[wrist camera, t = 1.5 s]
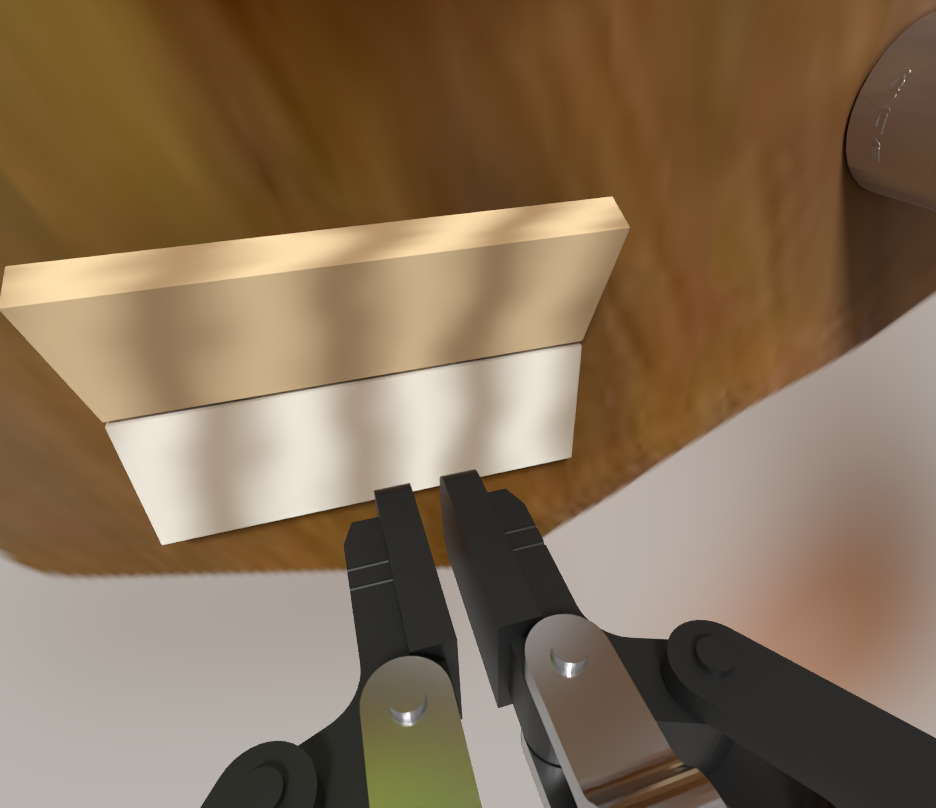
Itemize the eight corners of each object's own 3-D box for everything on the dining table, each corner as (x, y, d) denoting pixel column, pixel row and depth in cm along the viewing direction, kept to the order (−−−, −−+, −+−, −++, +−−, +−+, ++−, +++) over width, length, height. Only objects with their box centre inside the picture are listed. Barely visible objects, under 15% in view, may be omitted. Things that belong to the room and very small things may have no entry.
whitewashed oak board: (566, 329, 34) (581, 345, 32) (558, 438, 38) (571, 457, 37) (114, 404, 29) (104, 427, 27) (167, 519, 33) (161, 545, 32)
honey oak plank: (612, 196, 26) (630, 227, 25) (569, 312, 33) (582, 340, 32) (5, 266, 21) (-2, 308, 20) (104, 386, 28) (102, 422, 27)
